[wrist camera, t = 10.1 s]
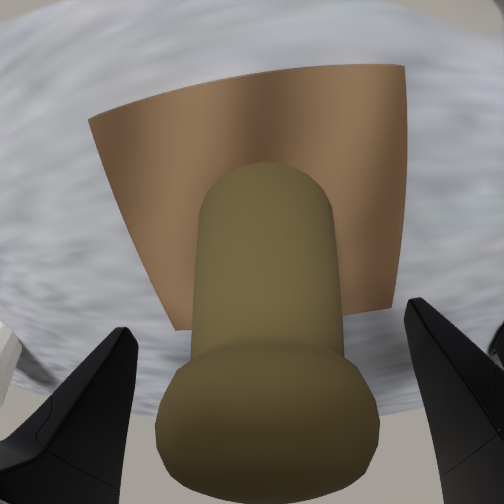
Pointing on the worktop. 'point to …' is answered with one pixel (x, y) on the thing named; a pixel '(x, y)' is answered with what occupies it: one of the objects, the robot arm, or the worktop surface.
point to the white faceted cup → (7, 358)
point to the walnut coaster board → (265, 150)
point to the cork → (267, 351)
